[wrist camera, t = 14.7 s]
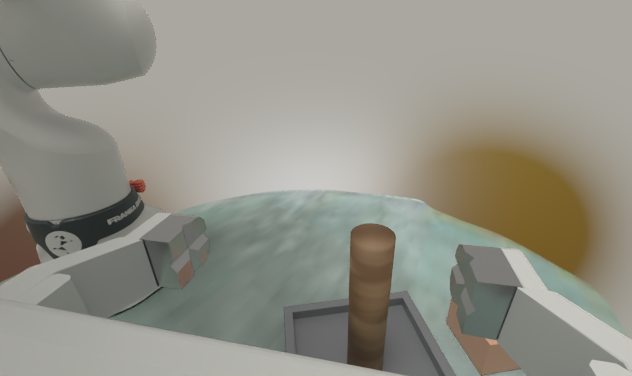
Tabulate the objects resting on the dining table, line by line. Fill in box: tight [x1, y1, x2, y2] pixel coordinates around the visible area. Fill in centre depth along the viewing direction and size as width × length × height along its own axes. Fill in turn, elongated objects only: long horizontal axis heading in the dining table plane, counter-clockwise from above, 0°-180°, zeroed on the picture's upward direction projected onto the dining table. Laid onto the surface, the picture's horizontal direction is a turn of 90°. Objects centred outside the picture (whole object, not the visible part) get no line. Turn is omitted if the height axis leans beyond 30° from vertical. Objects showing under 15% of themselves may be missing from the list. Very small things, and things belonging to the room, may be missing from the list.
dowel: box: [347, 224, 396, 371], centre depth 27 cm, size 4×4×16 cm
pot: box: [446, 298, 521, 375], centre depth 32 cm, size 7×7×4 cm
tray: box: [284, 291, 456, 376], centre depth 30 cm, size 16×16×2 cm
